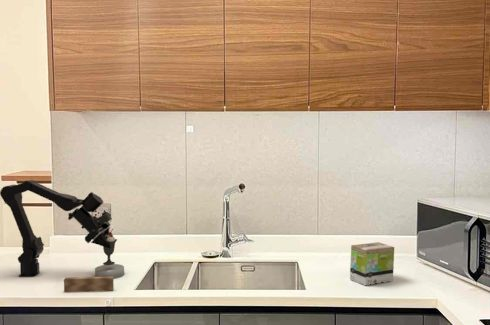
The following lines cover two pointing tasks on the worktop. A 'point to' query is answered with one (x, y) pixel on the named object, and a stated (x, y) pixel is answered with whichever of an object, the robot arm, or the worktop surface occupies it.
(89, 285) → the brown wooden plank
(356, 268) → the tea box
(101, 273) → the slate plinth
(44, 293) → the worktop surface
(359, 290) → the worktop surface
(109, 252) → the sundae
